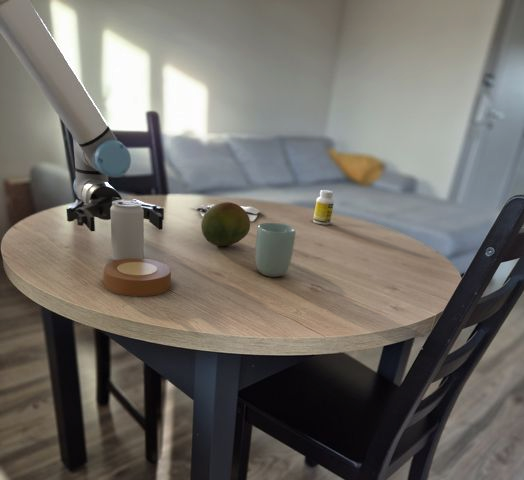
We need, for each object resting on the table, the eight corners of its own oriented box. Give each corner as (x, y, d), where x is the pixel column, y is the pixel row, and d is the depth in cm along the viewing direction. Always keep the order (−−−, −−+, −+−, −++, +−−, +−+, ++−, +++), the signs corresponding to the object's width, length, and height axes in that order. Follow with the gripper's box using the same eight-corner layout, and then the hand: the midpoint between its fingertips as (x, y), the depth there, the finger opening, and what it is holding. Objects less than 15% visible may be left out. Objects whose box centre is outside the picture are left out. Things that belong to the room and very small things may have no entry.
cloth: (266, 212, 157) (267, 205, 156) (246, 225, 138) (247, 217, 137) (208, 202, 161) (209, 195, 160) (181, 214, 142) (181, 205, 141)
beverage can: (108, 257, 101) (106, 198, 96) (138, 255, 104) (138, 198, 99) (116, 266, 97) (114, 206, 91) (147, 264, 100) (147, 206, 94)
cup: (295, 279, 102) (302, 232, 97) (261, 280, 99) (266, 232, 94) (280, 267, 108) (285, 222, 103) (247, 268, 105) (252, 222, 100)
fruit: (249, 241, 124) (253, 201, 119) (245, 255, 113) (249, 212, 108) (205, 235, 124) (207, 196, 120) (196, 249, 113) (198, 205, 108)
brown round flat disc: (93, 291, 85) (92, 274, 83) (117, 269, 95) (117, 254, 94) (160, 300, 84) (160, 283, 83) (177, 277, 95) (177, 262, 93)
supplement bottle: (327, 226, 149) (332, 193, 145) (310, 222, 151) (315, 190, 146) (332, 223, 154) (337, 191, 149) (316, 219, 155) (321, 188, 151)
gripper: (154, 215, 119) (186, 239, 104) (45, 217, 107) (62, 244, 92) (154, 184, 116) (187, 204, 100) (42, 182, 104) (59, 204, 88)
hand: (127, 223), depth 96 cm, fingers open, 13 cm apart
